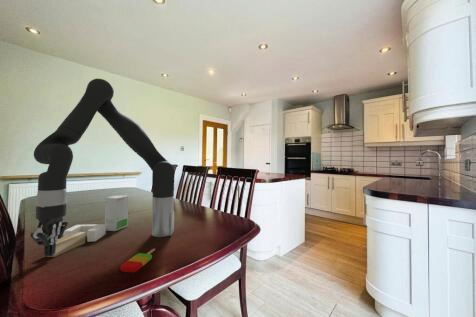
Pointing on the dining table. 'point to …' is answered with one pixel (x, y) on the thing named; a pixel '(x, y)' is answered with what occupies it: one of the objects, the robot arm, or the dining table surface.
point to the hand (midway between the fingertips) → (49, 255)
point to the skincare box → (116, 212)
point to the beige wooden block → (69, 243)
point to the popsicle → (136, 262)
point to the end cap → (88, 231)
